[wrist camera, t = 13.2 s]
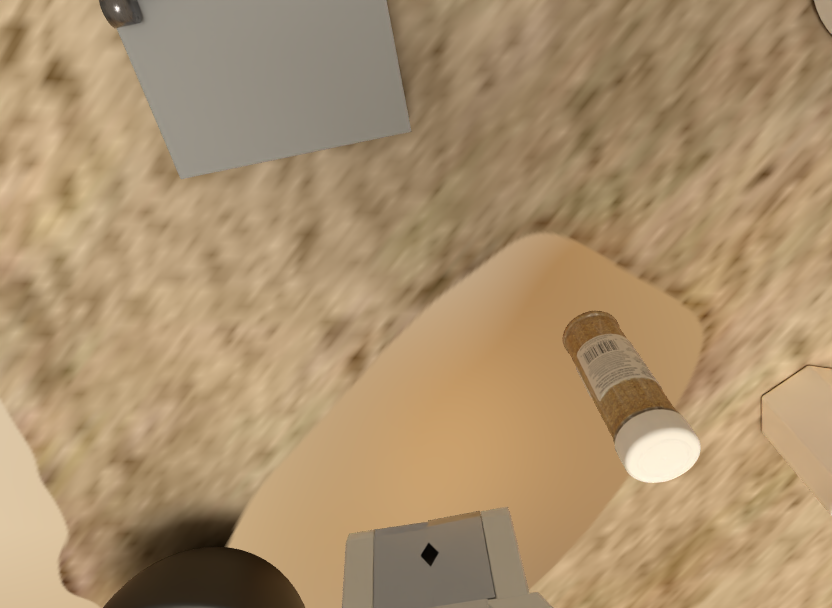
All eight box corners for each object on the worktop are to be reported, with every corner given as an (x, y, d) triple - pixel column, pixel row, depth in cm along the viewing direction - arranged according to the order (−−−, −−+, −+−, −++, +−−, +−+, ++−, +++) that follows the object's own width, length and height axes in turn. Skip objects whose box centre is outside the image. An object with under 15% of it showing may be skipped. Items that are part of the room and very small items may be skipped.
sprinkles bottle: (565, 361, 45) (628, 493, 34) (557, 316, 43) (622, 441, 31) (620, 347, 45) (704, 476, 33) (616, 301, 42) (703, 422, 31)
